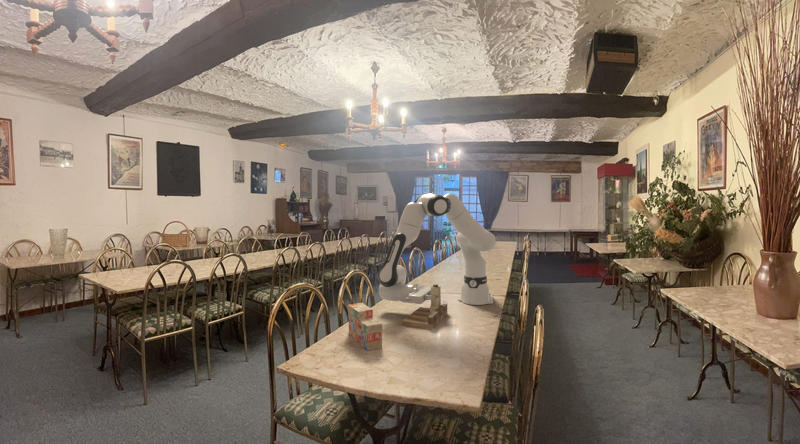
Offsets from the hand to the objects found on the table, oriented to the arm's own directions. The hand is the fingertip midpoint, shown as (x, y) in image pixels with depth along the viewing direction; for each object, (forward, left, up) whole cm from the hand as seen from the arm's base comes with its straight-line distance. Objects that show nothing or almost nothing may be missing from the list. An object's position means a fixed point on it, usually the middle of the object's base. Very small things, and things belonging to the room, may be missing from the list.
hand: (437, 296), depth 175 cm
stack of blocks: (+40, -18, -10) cm, 45 cm away
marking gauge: (0, -1, -8) cm, 8 cm away
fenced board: (+7, -4, -10) cm, 12 cm away
